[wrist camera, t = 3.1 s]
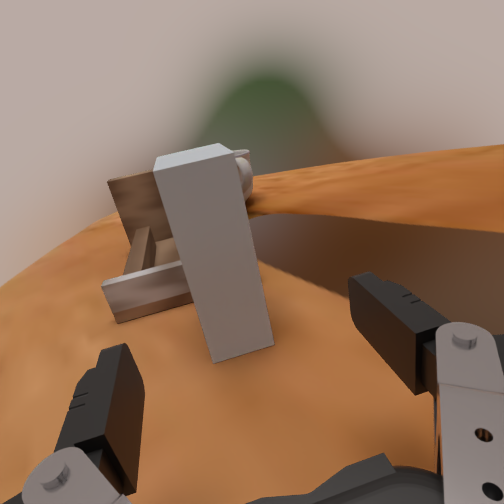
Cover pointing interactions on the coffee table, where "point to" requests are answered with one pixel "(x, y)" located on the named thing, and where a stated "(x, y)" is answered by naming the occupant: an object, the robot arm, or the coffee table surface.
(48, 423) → the coffee table surface
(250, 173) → the teacup
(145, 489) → the coffee table surface
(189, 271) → the tall grey pillar
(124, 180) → the track block
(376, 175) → the coffee table surface
